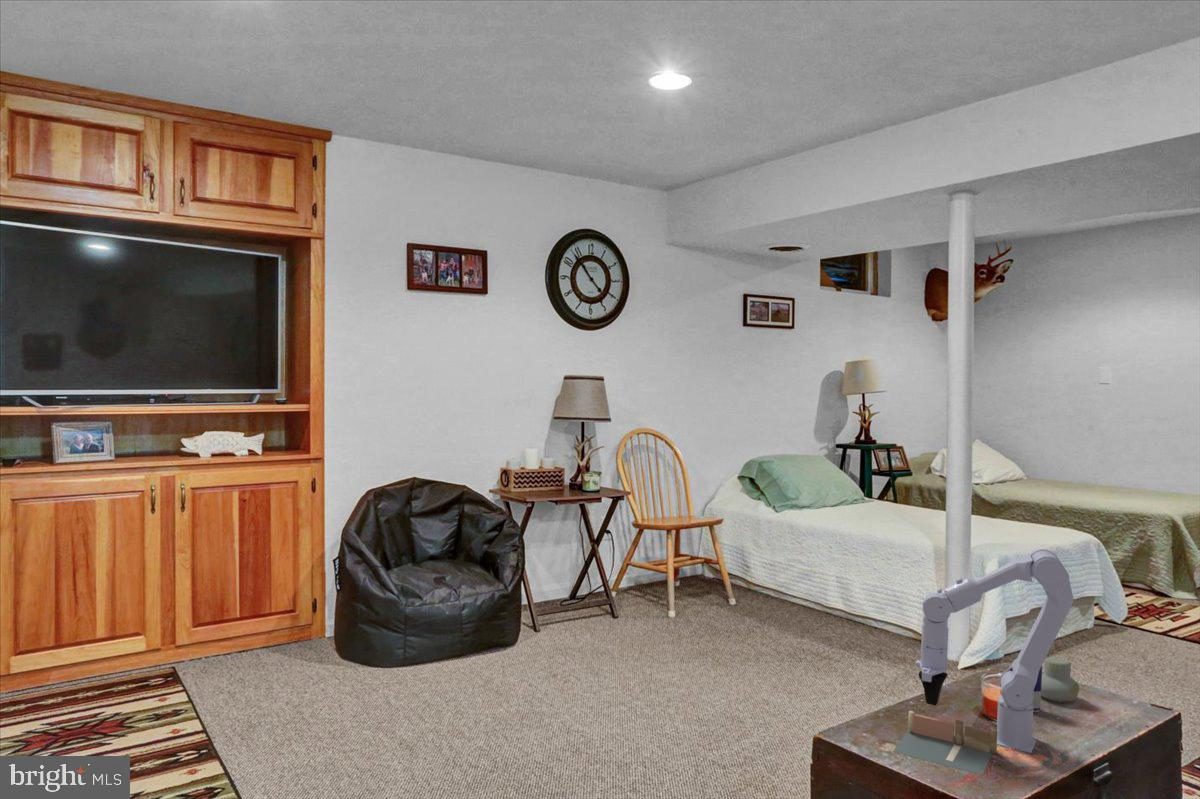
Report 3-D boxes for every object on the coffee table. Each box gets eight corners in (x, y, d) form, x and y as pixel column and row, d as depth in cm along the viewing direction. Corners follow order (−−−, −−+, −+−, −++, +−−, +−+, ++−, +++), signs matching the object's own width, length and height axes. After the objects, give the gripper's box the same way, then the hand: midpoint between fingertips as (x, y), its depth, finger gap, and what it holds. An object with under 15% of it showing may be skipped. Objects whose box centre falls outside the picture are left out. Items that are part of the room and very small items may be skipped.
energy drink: (1044, 711, 210) (1046, 663, 210) (1032, 715, 207) (1034, 666, 207) (1024, 703, 215) (1026, 656, 214) (1011, 707, 212) (1013, 660, 212)
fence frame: (955, 741, 189) (956, 719, 189) (997, 752, 185) (997, 729, 185) (954, 744, 188) (955, 721, 188) (995, 754, 183) (996, 731, 183)
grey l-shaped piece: (1065, 708, 212) (1067, 669, 212) (1030, 698, 219) (1032, 660, 218) (1081, 698, 220) (1083, 660, 219) (1047, 689, 226) (1049, 652, 226)
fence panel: (953, 740, 189) (954, 721, 189) (952, 742, 188) (953, 722, 188) (908, 729, 195) (909, 710, 195) (907, 731, 194) (908, 712, 194)
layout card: (909, 730, 196) (909, 728, 196) (994, 751, 186) (994, 749, 186) (892, 753, 184) (892, 751, 184) (982, 776, 174) (982, 774, 174)
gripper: (923, 634, 205) (921, 690, 205) (908, 650, 192) (906, 709, 193) (954, 640, 201) (952, 697, 201) (941, 656, 189) (938, 716, 189)
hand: (931, 703), depth 197 cm, fingers closed
